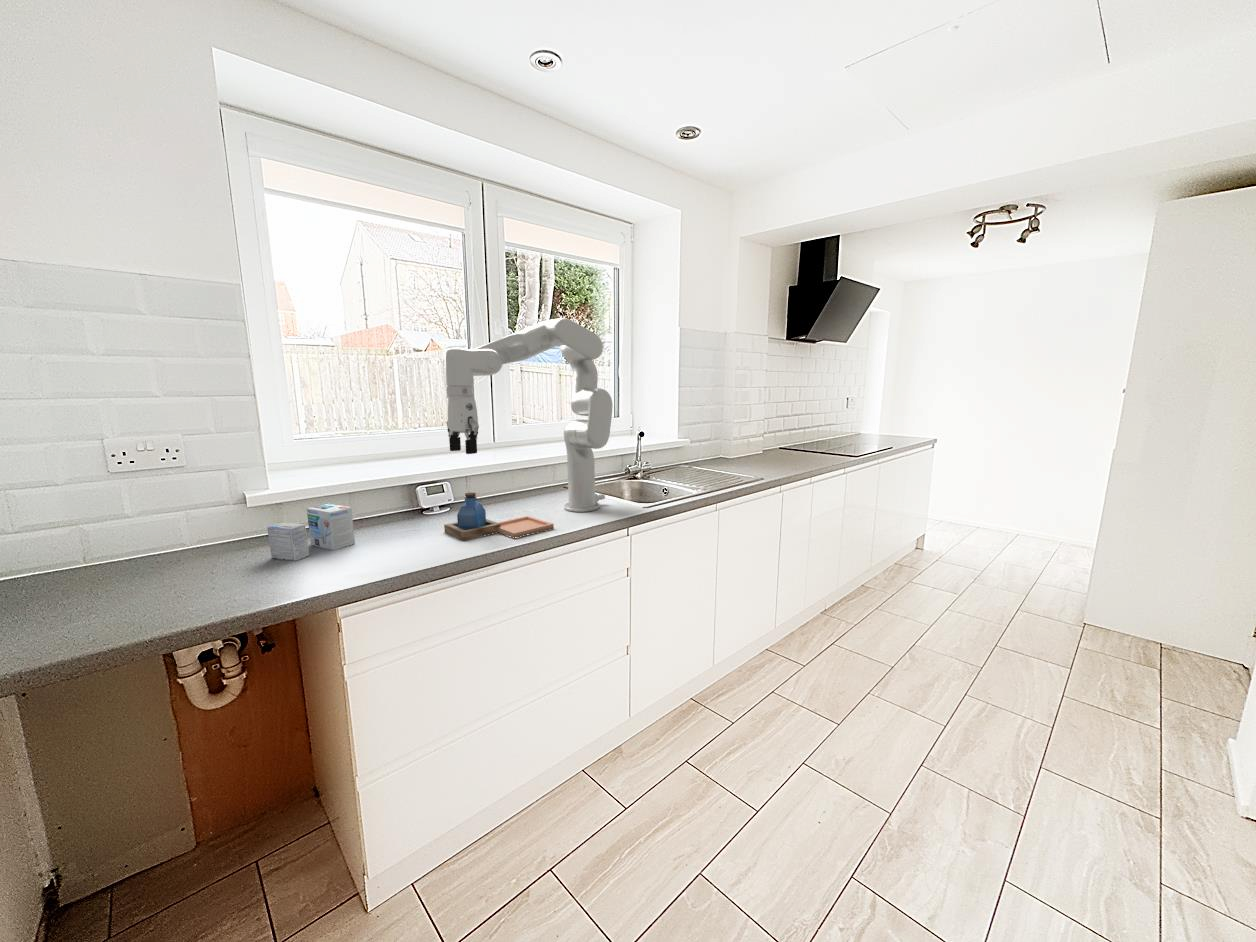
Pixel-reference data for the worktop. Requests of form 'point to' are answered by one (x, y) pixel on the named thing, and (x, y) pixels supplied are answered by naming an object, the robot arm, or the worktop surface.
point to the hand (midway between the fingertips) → (463, 452)
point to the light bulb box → (331, 526)
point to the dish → (523, 526)
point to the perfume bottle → (471, 513)
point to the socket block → (471, 530)
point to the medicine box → (288, 541)
